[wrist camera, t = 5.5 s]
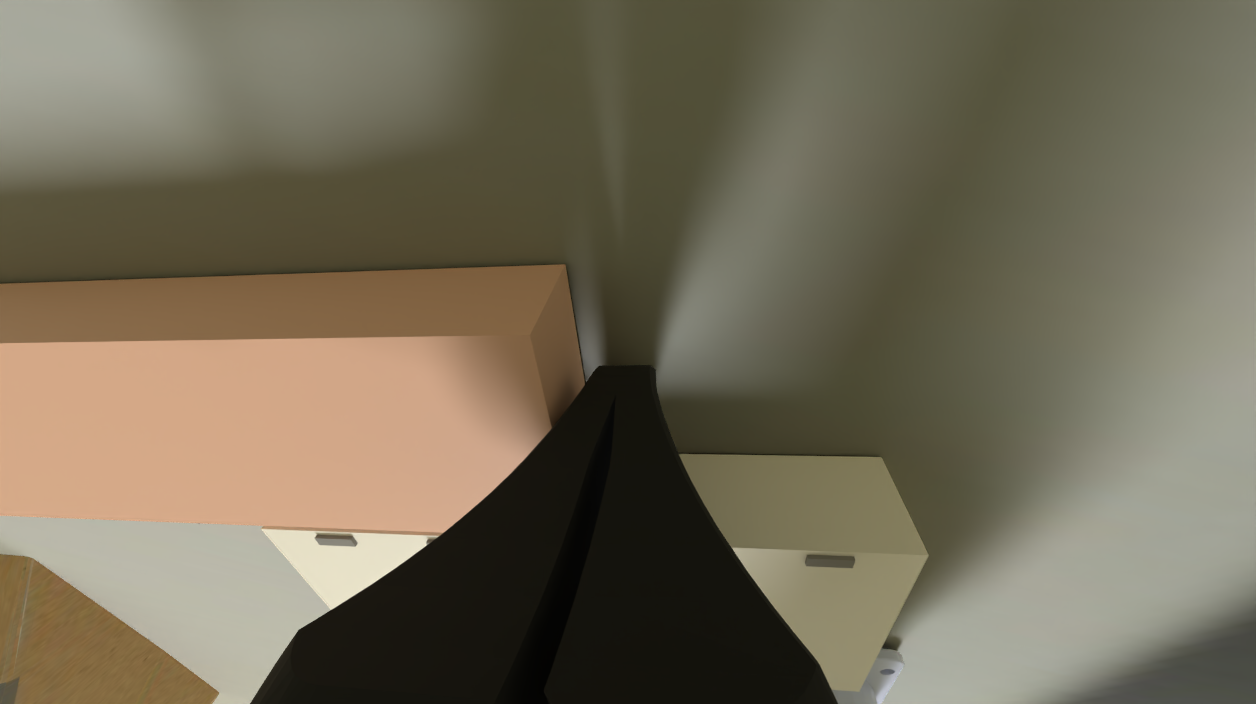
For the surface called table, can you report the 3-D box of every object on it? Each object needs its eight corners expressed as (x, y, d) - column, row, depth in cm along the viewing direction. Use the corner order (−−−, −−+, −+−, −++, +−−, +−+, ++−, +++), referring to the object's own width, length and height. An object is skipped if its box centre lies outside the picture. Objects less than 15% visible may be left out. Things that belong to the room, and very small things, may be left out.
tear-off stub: (595, 447, 13) (577, 537, 10) (105, 440, 15) (-1, 515, 12) (565, 264, 10) (529, 334, 7) (-51, 285, 12) (-231, 346, 9)
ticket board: (833, 598, 16) (860, 695, 14) (410, 577, 18) (369, 658, 16) (881, 456, 12) (931, 559, 10) (329, 448, 14) (257, 532, 12)
